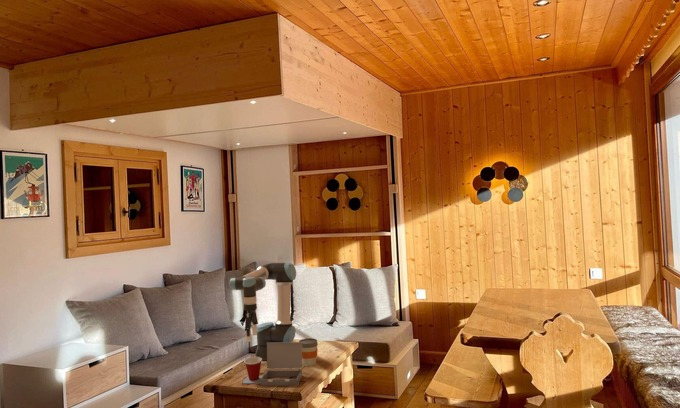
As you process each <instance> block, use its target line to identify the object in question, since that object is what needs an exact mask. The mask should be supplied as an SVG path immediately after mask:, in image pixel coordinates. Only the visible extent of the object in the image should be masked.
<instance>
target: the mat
mask: <svg viewBox="0 0 680 408" xmlns="http://www.w3.org/2000/svg"><path fill="white" fill-rule="evenodd" d="M263 376H264V375H259V379H258V380H255V381H251V380H249V376H248V375H247V376H246V377H245V379H244V380H243V381H242V383H241V384H242V385H261V378H262V377H263Z"/></svg>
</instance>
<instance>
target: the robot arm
mask: <svg viewBox="0 0 680 408" xmlns="http://www.w3.org/2000/svg"><path fill="white" fill-rule="evenodd" d="M296 278H297V269H296V267H295V265H294V264H293V263H291V262H271V263H266V264H264V265H261V266H258V267H257V269H256V270H255V269H254V270H253V271H251V272H248V273H246V274H244V275H242V276H239V277H231V278H230V280H229V282H228V283H229V285H228V287H229V288H230V290H233V291H243V297H242V299H243V304H244V305H243V306H244V307H243V308H244V311H246V312H247V313H245V323H244V332H245V335H246V338H245V339H246V342H248V343H249V342H250V343H251V342H252V336H256V344H257V345H256V346H257V347H256V350H255V351H256V352H255V355H254V357H260V358H262V361H267V343H277V342H294V339H295V337H296V333H297V332H296V330H297V329H296V327H295V325H293V322H292V320H291V293H292V292H291V286H292V285H293V283H294V280H296ZM266 280H267V281H268V280H271V281H272V280H273V281H274V280H275V284H277V319H276V320H277V321H276V322H275V323H274V322H269V321H268V322H263V323H260V324H259V322H258V321H259V320H258V317H257V312H256V311H257V309H258V306H257V305H258V304H257V292H258V291H260V290H263V289H264V288H265V287H266V283H267V281H266ZM251 328H252V329H251ZM251 330H252V331H251Z"/></svg>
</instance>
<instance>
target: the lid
mask: <svg viewBox="0 0 680 408" xmlns="http://www.w3.org/2000/svg"><path fill="white" fill-rule="evenodd" d="M278 370H302V371H303V365H302V342H299V341H295V342H294V341H292V342H277V343H267V360H266V371H278Z"/></svg>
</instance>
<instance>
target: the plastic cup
mask: <svg viewBox="0 0 680 408" xmlns="http://www.w3.org/2000/svg"><path fill="white" fill-rule="evenodd" d="M262 361H263V360H262V358H260V357H255V356H251V357H247V358H245V359H244V360H243V362H244V364H245V368H246V372H247V376H249V380H251V381H255V380H258V379H259V376H260V373H261V366H262V365H261V364H262Z"/></svg>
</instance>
